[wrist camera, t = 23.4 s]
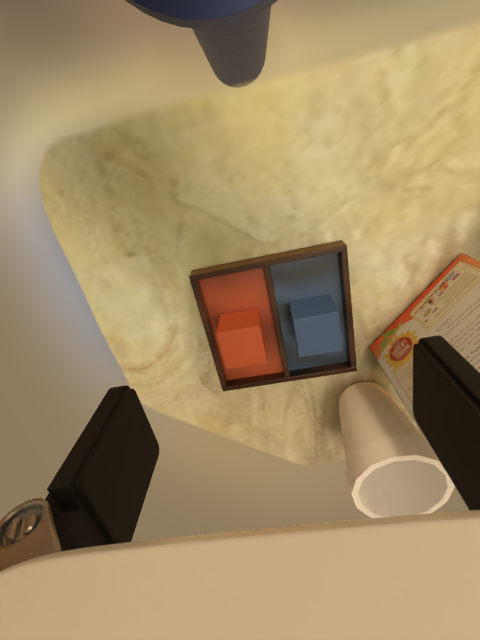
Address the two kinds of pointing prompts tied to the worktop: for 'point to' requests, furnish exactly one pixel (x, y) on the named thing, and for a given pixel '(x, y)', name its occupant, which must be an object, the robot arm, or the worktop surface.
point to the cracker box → (434, 326)
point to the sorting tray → (278, 310)
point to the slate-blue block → (316, 326)
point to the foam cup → (388, 456)
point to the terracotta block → (242, 338)
